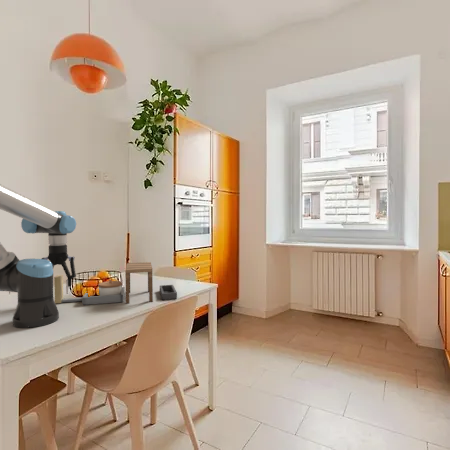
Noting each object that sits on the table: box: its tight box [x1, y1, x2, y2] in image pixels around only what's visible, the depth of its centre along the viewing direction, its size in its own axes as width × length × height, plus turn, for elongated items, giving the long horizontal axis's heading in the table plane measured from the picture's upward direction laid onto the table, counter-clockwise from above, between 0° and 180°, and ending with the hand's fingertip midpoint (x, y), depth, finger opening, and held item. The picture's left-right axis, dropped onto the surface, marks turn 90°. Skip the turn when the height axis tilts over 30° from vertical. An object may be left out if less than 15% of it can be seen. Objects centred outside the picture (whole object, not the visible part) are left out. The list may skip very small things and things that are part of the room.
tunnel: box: [124, 261, 154, 304], centre depth 154 cm, size 21×12×16 cm, turn 16°
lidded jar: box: [98, 279, 123, 296], centre depth 150 cm, size 11×11×9 cm
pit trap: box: [159, 284, 178, 301], centre depth 158 cm, size 18×7×3 cm, turn 16°
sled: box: [53, 274, 126, 306], centre depth 148 cm, size 16×30×12 cm, turn 106°
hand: (58, 293), depth 144 cm, fingers open, 7 cm apart
